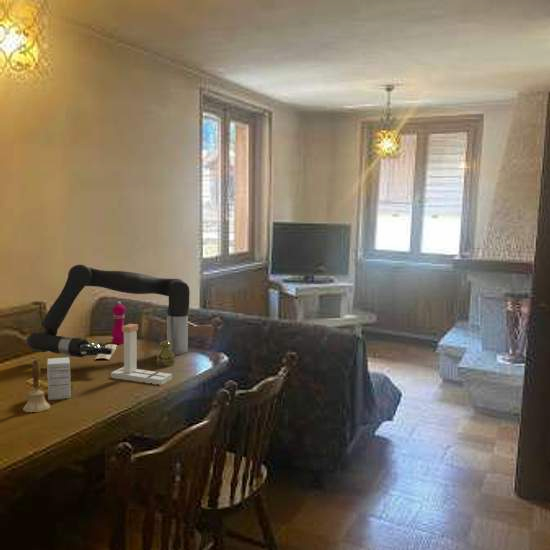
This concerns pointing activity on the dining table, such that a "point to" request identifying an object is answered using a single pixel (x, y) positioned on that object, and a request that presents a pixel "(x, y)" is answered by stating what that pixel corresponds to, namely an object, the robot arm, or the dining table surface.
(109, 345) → the newspaper
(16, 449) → the dining table surface
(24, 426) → the dining table surface
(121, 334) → the pepper mill
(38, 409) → the hand bell
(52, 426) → the dining table surface
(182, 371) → the dining table surface
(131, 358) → the fader tab
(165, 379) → the white scale plate
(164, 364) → the brass knobbed piece
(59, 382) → the supplement box
